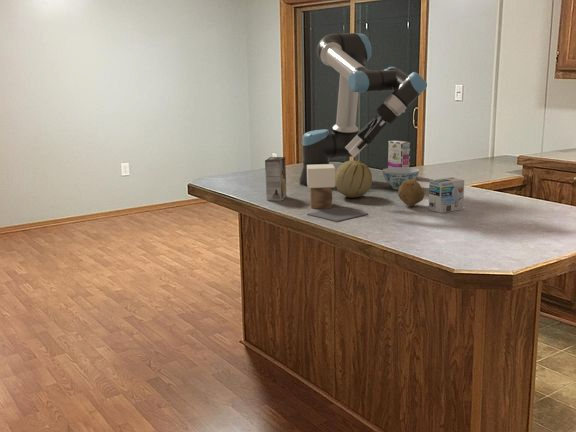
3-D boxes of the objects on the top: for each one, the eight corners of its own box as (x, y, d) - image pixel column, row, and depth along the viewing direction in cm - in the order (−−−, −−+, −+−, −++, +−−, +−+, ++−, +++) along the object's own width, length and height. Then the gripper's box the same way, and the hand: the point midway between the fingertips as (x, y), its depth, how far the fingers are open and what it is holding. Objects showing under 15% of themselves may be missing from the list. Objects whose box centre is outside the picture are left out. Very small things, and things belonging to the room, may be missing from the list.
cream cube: (332, 182, 232) (332, 164, 231) (335, 187, 223) (334, 168, 221) (307, 183, 232) (306, 164, 231) (308, 187, 223) (307, 168, 221)
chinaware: (408, 192, 248) (408, 174, 246) (375, 189, 257) (375, 171, 255) (424, 186, 260) (425, 168, 258) (392, 183, 269) (393, 166, 267)
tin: (330, 203, 233) (330, 166, 230) (332, 207, 226) (331, 169, 222) (310, 203, 233) (309, 167, 230) (311, 208, 226) (310, 170, 222)
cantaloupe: (326, 198, 242) (326, 160, 239) (349, 192, 253) (349, 156, 249) (357, 202, 232) (357, 163, 229) (379, 196, 243) (379, 158, 239)
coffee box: (271, 195, 250) (270, 156, 246) (286, 196, 249) (285, 156, 245) (266, 200, 241) (264, 160, 238) (282, 200, 240) (280, 160, 236)
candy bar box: (410, 177, 282) (410, 142, 278) (401, 178, 280) (401, 142, 276) (396, 174, 291) (396, 139, 288) (387, 175, 289) (387, 140, 286)
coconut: (392, 205, 227) (392, 178, 225) (412, 202, 230) (413, 176, 228) (406, 209, 219) (407, 182, 217) (427, 206, 222) (427, 179, 220)
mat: (337, 208, 225) (337, 206, 225) (367, 214, 213) (367, 213, 213) (307, 214, 215) (307, 213, 215) (336, 222, 204) (336, 220, 204)
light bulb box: (440, 213, 212) (441, 182, 210) (427, 209, 218) (428, 180, 215) (464, 209, 217) (465, 179, 214) (450, 206, 223) (451, 176, 220)
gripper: (404, 119, 210) (360, 164, 213) (392, 114, 234) (352, 154, 238) (389, 104, 209) (345, 149, 212) (378, 100, 233) (339, 141, 236)
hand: (349, 152), depth 225 cm, fingers open, 13 cm apart
